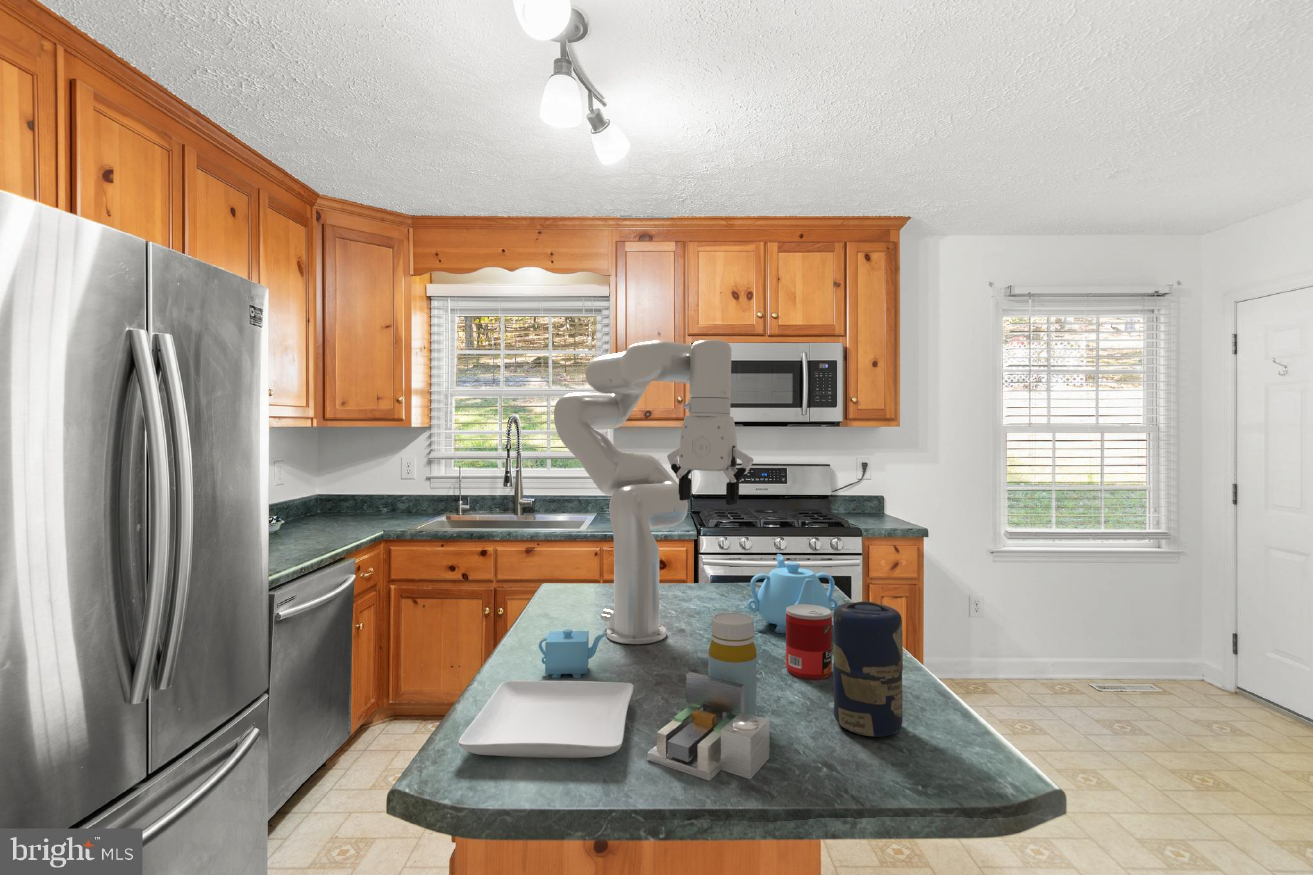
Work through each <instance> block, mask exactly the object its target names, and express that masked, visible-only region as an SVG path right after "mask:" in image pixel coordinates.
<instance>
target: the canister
mask: <svg viewBox="0 0 1313 875" xmlns="http://www.w3.org/2000/svg"><path fill="white" fill-rule="evenodd" d="M832 614H833V615H832V652H833V662H832V664H833V665H832V670H833V671H832V672H833V676H832V677H833V678H832V679H833V680H832V681H833V683H832V684H833V716H834V718H835V720H836V722H837V723H838V724H839V725H840V726H841V727H842V728H844V729H846V730H848V731H850V732H851V733H854V734H857V735H861V736H865V737H866V736H867V737H886V736H891V735H894V734H895V733H897V732H899V731H900V730H901V727H902V726H903V712H904V711H903V709H904V708H903V671H904V668H903V667H904V666H903V665H904V664H903V659H904V658H903V653H904V652H903V650H904V649H903V646H904V645H903V644H904V643H903V620H902V618H903V617H902V616H901V613H900V612H899V611H898V610H897V609H895V608H892V606H888V605H886V604H881V603H877V602H873V601H869V600H863V601H856V602H855V601H854V602H846V603H842V604H840V605H839V604H838V607H836V608H835V610H833V613H832Z"/></svg>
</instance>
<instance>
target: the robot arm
mask: <svg viewBox="0 0 1313 875" xmlns="http://www.w3.org/2000/svg"><path fill="white" fill-rule="evenodd" d="M585 379H586V383H588V385H589V387H591V389H593V391H594V390H595V391H596V392H599V393H596V392H572V393H568V394H564V395H563V396H561V397H560V398H559V399H558V400H557V401H556V403H555V405H554V410H553V422H554V426H555V430H556V432H557V435H558V437H559V439H560V440H561V442H562V443H563V444H564V446H565V447H566V449H568V451H570V453H572V455H573V456H575V458H576V459H577V460H578V461H579V463H580V464H581V466H582V467H583V469H584V470H585V472H586V473H587V475H588V476H589V477H590V478H591V480H592V481H593V483H594V485H595V486H596V487H597V489H598V490H599V491H600V492H601V493H603V495H606V496H610V500H609V504H608V505H609V506H608V507H609V509H608V510H609V517H610V521H611V526H612V535H613V537H612V538H613V609H608V608H604V609H603V611H602V614H601V615H600V618H599V619H600V621H603V622H608V623H609V626H608V627H607V628H606V633H605V634H607V635H606V637H607V638H608V639H609V640H611V641H613V642H615V643H619V644H626V645H646V644H652V643H653V644H654V643H657V642H659V641H662V640H664V639H665V638H666V637H667V628H666V627H665V626H664V625H663V624H660V549H659V545H658V542H657V541H656V539H655V537H654V535H653V533H652V530H653V529H658V528H659V529H660V528H667V527H668V528H669V527H673V526H677V525H678V524H681V523H682V522H683V521H684V520H685V519H686V517H687V515H688V510H689V503H688V500H691V498H692V479H691V477H690V475H691V474H692V472H693V471H703V472H704V471H705V472H723V473H724V475H725V477H726V478H727V479H728V481H727V482H726V486H725V488H726V489H725V494H726V495H725V504H726V505H727V506H732V505H736V504H737V503H738V501H739V499H740V498H739V497H740V483H741V482H742V481H743V478H744V477H746V475H748V474H749V470H750V469H751V467H752V465H753V463H754V458H753V457H752V456H750V455H748V454H747V453H745V452H743V451H742V450H740V449H739V448H738V442H737V440H738V439H737V432H736V424H735V420H734V416H731V401H732V400H731V399H732V398H731V395H732V394H731V391H732V390H731V388H732V347H731V345H730V344H729V343H728V342H727V341H725V340H719V339H717V340H716V339H705V340H704V339H703V340H697V341H695V342H693V343H692V344H689V343H682V342H676V341H675V342H674V341H666V340H650V341H645V342H644V341H643V342H638V343H634V344H631V345H629V347H627V349H626V350H625V351H622V352H617V353H611V354H606V355H605V354H604V355H601V356H598V357H596V358H594V359H593V360H591V361H590V362H589V363H588V365H587V367H586V369H585ZM651 382H666V383H677V384H689V396H688V397H689V398H688V402H684V404H683V408H684V410H685V411H688V415H685V416H684V418H683V419H684V420H683V423H682V428H681V433H680V440H679V448H677V449H675V450H674V451H672V452H670V453H669V454H667V455H666V456H667V461H668V462H669V465H670V469H671V470H672V471H673V473H674V474H675V477H676V479H677V480H678V482H677V481H676V479H675V478H674V477H673V476H672V474H670V472H669V471H668V470H667V469H666V467H665V466H664V465H663V464H662V462H660V461H659V460H658V459H657V458H656V457H654V456H652V455H651V454H648V453H643V452H638V453H637V452H628V453H627V452H622V451H620V450H618V449H617V447H615V445H614V444H613V442H612V441H611V440H610V439H609V438H608V437H607V436H606V435H604V434H603V433H601V432H600V431H598V430H614V429H618V428H620V427H621V426H623V425H624V424H625V422H626V421H628V419H629V417H630V415H631V413H632V412H633V410H634V409H635V408H636V407H637V404H638V403H639V401H640V400H641V398H642V396H643V394H644V393H645V391H646V388H647V387H648V386H649V385H650V383H651ZM596 429H597V430H596ZM738 460H740V461H741V466H740V468H739V469H737V465H738Z"/></svg>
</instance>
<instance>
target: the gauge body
mask: <svg viewBox="0 0 1313 875" xmlns="http://www.w3.org/2000/svg"><path fill="white" fill-rule="evenodd" d="M700 709H703V706H699V705H695V704H691V703H690V704H689V705H688V706H686V707H685V708H684V709H683V710H682V711H680V712H678V713H677V714H676V715H675V716H674V717H673V719H672V720H671V721H670V722H668V723H667V724H666V725H664V726H663V727H662V728H661V729H659V730H658V731H657V732H656V745H655V746H654V747H652V748H651V749H650V750H648V751H647V752H646V753H647V756H646V760H647V761H648V762H652V763H655V764H657V765H661V766H664V767H667V768H670V769H673V770H675V771H678V772H680V773H681V772H682V773H685V774H688V775H691V776H693V777H697V778H699V779H702V780H706V781H708V782H710V781H712V779H714V778H715V776H716V775H717V774H718V773H719V772H720V771H722V772H725V773H729V774H732V775H736V776H739V777H742V778H745V779H747V780H751V779H752V778H753V777H754V776H755V775H756V774H757V772H759V770H760V769H761V768H763V766H764V765H765V764H766V762H767V761H768V760H769V759H770V719H769V718H765V717H762V716H758V715H756V716H755V715H751V714H747V713H743V712H740V713H739V714H738V715H733V714H730V715H728V716H727V717H726V718H725V719H724V720H723V721H721V722H720V723H719V724H718V725H717V726H716V727H715V728H713V732H712V733H710V734H709V735H708V736H707V737H706V738H705V739H704V740H702V741H701V742H700V743H699V744H698V754H697V755H696V756H695V757H694V758H692V759H691V760H690V761H689V762H686V761H683V760H680V759H677V758H674V757H671V756H668V740H670V739H671V738H672V737H674V736H675V735H676V734H677V733H679V732H680V731H681V730H682V729H684V728H685V727H686V726H687V725H689V724H690V723H691V722H692V713H693V712H694V711H695V710H700Z"/></svg>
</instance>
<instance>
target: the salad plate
mask: <svg viewBox="0 0 1313 875" xmlns="http://www.w3.org/2000/svg"><path fill="white" fill-rule="evenodd" d="M634 688H635V686H634V685H633V683H630V682H618V681H617V682H615V681H614V682H613V681H609V682H608V681H587V680H506V681H502V682H501V683H500V684H499V685H497V688H496V689H495V690H494V691H493V693H492V694H491V696H490V697H489V699H488V700H487V702H486V703H485V704H484V705H483V707H481V708H482V709H481V710H480V711H479V713H477V715H476V716H475V718H474V719H473V720H472V722H470V724H469V725H468V726H467V727H466V729H465V730H464V731H463V732H462V734H461V735H460V737H459V739H458V742H457V743H458V745H459V747H460V748H461V749H462V750H464V751H466V752H468V753H471V754H476V755H481V756H496V757H505V758H506V757H511V758H513V757H514V758H545V759H547V758H548V759H551V758H552V759H553V758H554V759H559V758H560V759H588V758H596V757H597V758H599V757H605V756H606V757H607V756H609V755H612V754H614V753H616V752H618V751H619V750H620V748H621V747H622V745H623V741H624V736H625V728H626V721H627V720H626V719H627V714H628V709H629V704H630V702H631V699H632V696H633V693H634Z"/></svg>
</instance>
